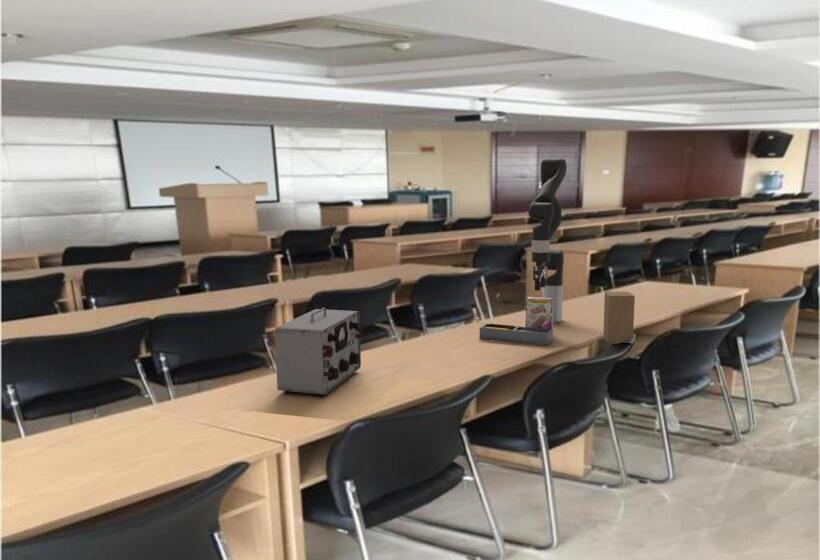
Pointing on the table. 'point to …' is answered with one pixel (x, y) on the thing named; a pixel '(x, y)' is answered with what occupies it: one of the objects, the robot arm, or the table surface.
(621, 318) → the wooden block
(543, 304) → the candy bar box
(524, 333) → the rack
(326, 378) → the vintage electronic device
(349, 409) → the table surface
